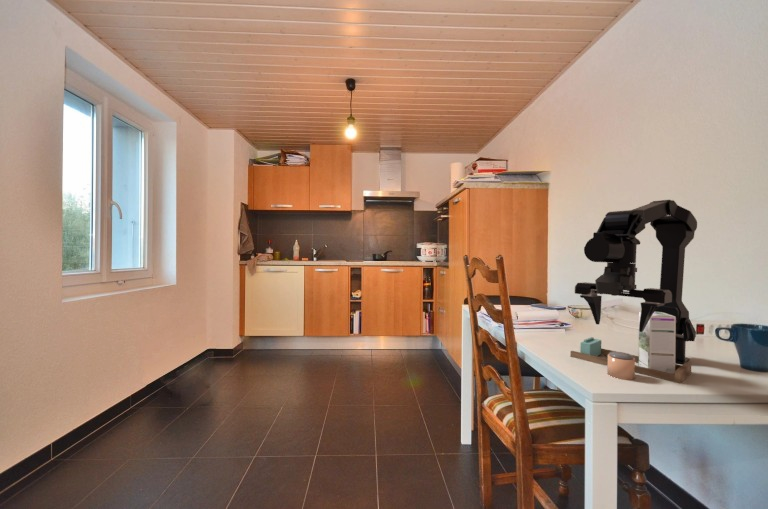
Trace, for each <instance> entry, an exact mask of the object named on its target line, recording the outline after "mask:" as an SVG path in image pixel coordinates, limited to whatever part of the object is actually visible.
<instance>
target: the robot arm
mask: <svg viewBox="0 0 768 509" xmlns="http://www.w3.org/2000/svg"><path fill="white" fill-rule="evenodd" d="M649 223H650V224H649ZM646 224H649V225H650V226H651V227H652V228H653V230H654V231H655V238H656V240H657V241H658V242H659V244H660V245H661V248H662V251H661V264H660V265H661V266H660V281H659V288H653V287H649V288H644V289H643V290H642V289H637V284H636V273H637V272H638V267H637V266H636V264H637V247H638V246H639V245H640V244H641V241H640V240H639V239H638V238H637V237H636V236H637V235H638V234H640V233H641V232H642V231H643V230H645V229H646ZM697 229H698V220H697V219H696V217H695V216H694V214H693V213H692V211H690V210H689V209H686V208H684V207H682V206H680V205H678V204H677V202H676V201H675V200H673V199H672V200H671V199H664V200H663V199H662V200H661V199H660V200H653V201H651V202H649V203H647V204H645V205H641V206H638V207H637V208H633V209H629V210H628V209H627V210H617V211H616V210H615V211H609V212H606V214H605V217H603V219H602V221H601V223H600V224H599V227H598V229H597V231H596V232H593V237H592V238H590V239H589V240H587V242H586V244H585V246H584V247H583V252H584V255H585V257H586V258H587V259H588V260H589V261H591V262H593V263H606V266H604V269H603V274H600V276H599V277H597V278H596V279H595V283H594V282H577V283H576V284H575V286H574V294H576V295H579V297H580V298H581V299H584V300H585V301H586V302H587V304H588V306H589V308H590V310H591V315H592V317H593V319H594V320H593V321H594V322H595V324H596V325H600V323H601V314H602V295H608V296H609V295H611V296H612V297H613V296H614V297H615V296H619V297H620V296H621V297H629V298H638V299H643V300H644V301H643V302H640V308H641V311H640V312H641V317H640V324H639V323H638V332H639V331H640V332H643V331H644V329H645V327H646V325H647V323H648V321H649V319H650V318H651V316H652V314H653V313H654V312H663V313H666V314H669V315H672V316H675V317H676V346H675V364H679V365H681V364H682V365H683V364H685V363H686V362H687V363H688V361H690V357H686V346H687V345H686V344H687V342H696V341H695V339H696V337H697V331H696V329H695V327H694V325H693V324H692V323H693V322H692V321H691V320H690V313H689V312H690V311H689V310H688V308H687V307H686V305H685V304H684V303H683V287H684V286H683V285H684V271H685V258H686V257H685V256H686V255H685V254H686V248H687V246H688V245H689V244H690V243H691V242H692V240H694V238H695V232H696V230H697Z"/></svg>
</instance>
